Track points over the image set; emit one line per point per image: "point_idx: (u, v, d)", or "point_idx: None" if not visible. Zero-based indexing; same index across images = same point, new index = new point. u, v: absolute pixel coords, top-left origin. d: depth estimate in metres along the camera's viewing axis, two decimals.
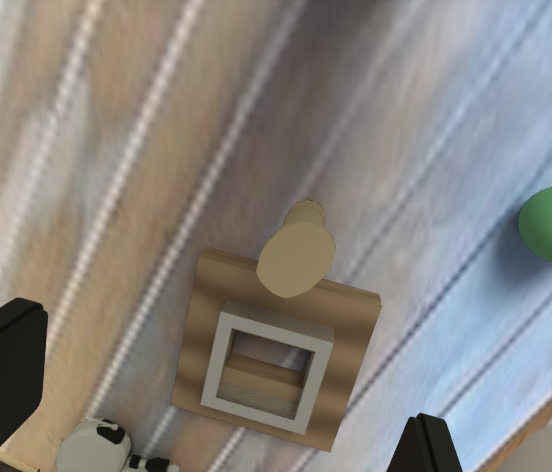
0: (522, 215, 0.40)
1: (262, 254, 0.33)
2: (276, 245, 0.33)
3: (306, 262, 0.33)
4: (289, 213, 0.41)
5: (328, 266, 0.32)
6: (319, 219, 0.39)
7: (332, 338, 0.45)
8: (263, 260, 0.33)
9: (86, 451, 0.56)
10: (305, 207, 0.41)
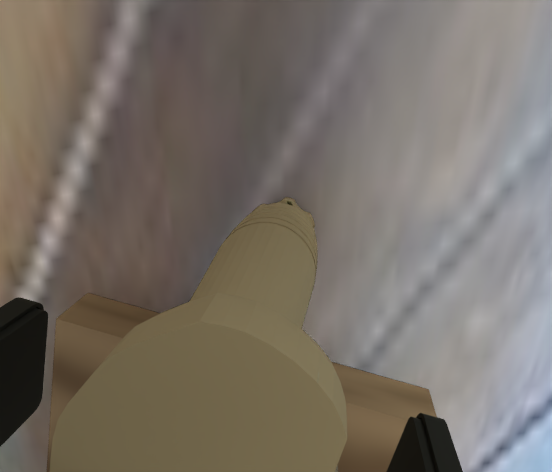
0: None
1: (60, 435, 0.08)
2: (107, 408, 0.08)
3: None
4: (226, 239, 0.16)
5: None
6: (300, 258, 0.15)
7: None
8: (67, 455, 0.09)
9: None
10: (266, 225, 0.16)
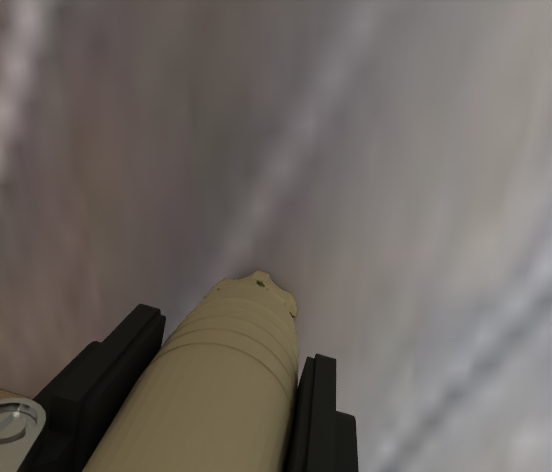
0: None
1: None
2: None
3: None
4: (144, 373, 0.10)
5: None
6: (261, 426, 0.08)
7: None
8: None
9: None
10: (208, 352, 0.10)
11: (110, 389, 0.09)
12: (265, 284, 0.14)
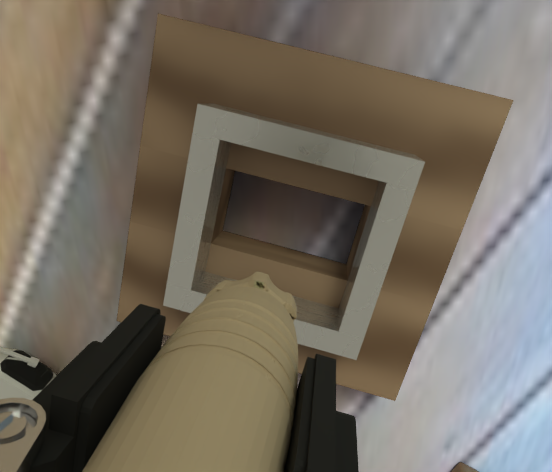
0: None
1: None
2: None
3: None
4: (143, 375, 0.10)
5: None
6: (261, 429, 0.08)
7: (419, 158, 0.23)
8: None
9: None
10: (208, 354, 0.10)
11: (110, 390, 0.09)
12: (265, 285, 0.14)
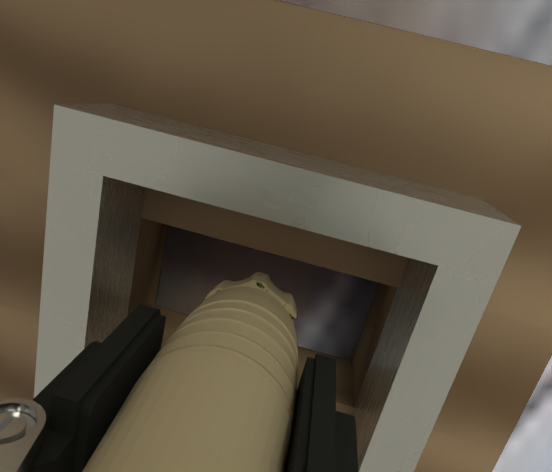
0: None
1: None
2: None
3: None
4: (143, 375, 0.10)
5: None
6: (260, 429, 0.08)
7: (502, 215, 0.11)
8: None
9: None
10: (207, 354, 0.10)
11: (110, 389, 0.09)
12: (265, 285, 0.14)
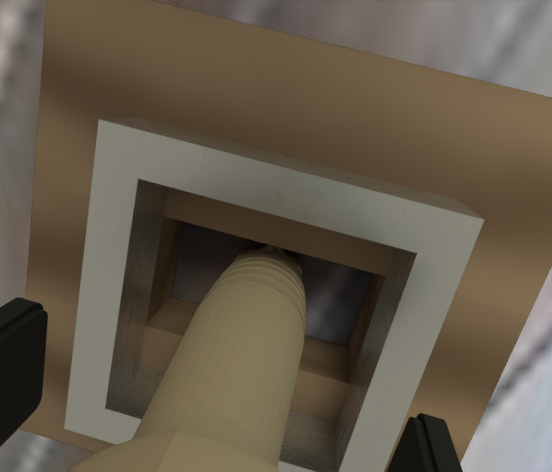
0: None
1: None
2: None
3: None
4: (204, 301, 0.14)
5: None
6: (286, 327, 0.13)
7: (470, 211, 0.14)
8: None
9: None
10: (248, 285, 0.14)
11: None
12: (279, 250, 0.19)
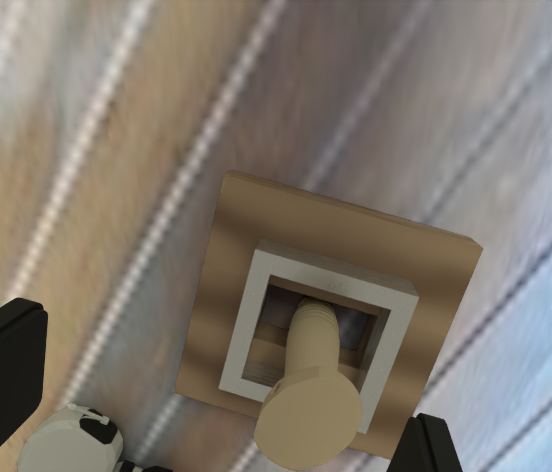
0: None
1: (262, 415, 0.24)
2: (282, 405, 0.24)
3: (323, 428, 0.24)
4: (295, 326, 0.32)
5: (352, 435, 0.24)
6: (334, 339, 0.31)
7: (414, 291, 0.31)
8: (263, 422, 0.24)
9: (62, 451, 0.41)
10: (315, 320, 0.32)
11: None
12: None
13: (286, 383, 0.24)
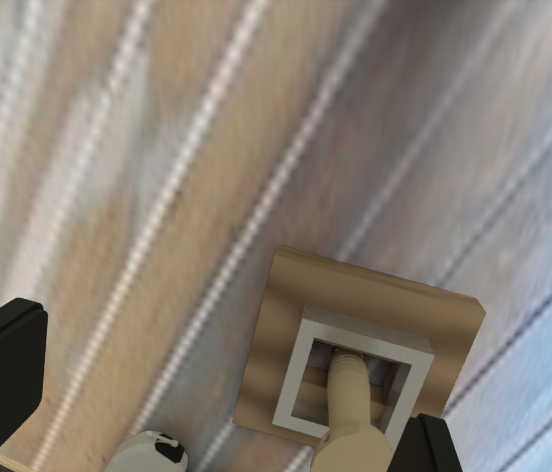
0: None
1: (317, 458, 0.32)
2: (332, 451, 0.32)
3: (363, 468, 0.32)
4: (334, 376, 0.40)
5: None
6: (366, 388, 0.39)
7: (430, 349, 0.39)
8: (318, 464, 0.32)
9: (141, 468, 0.49)
10: (350, 371, 0.40)
11: None
12: None
13: (335, 435, 0.32)
